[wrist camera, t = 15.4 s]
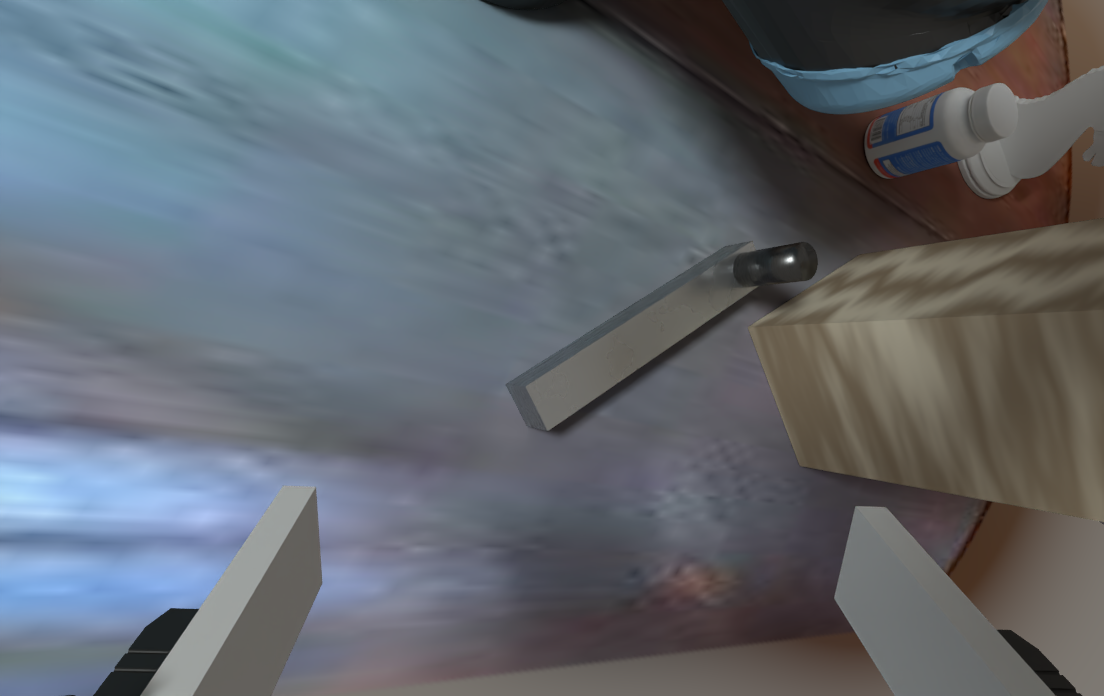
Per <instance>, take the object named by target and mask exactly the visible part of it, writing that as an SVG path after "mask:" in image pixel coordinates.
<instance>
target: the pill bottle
mask: <svg viewBox="0 0 1104 696" xmlns="http://www.w3.org/2000/svg"><path fill="white" fill-rule="evenodd" d="M1017 122H1018V108H1017V103H1016V100H1015V97H1014V95H1013V93H1012V91H1011V90H1010V89H1009V88H1008V87H1007V86H1006V85H1005V84H1002V83H995V84H992V85H989V86H986V87H983V88H980V89H978V90H977V91H975V92H974V91H973V90H971V89H968V88H955V89H952V90H949V91H946V92H943V93H941V94H938V95H935V96H933V97H930V98H927V99H924V100H922V101H919V102H917V103H914V104H911V105H909V106H906V107H903V108H900V109H898V110H895V111H892V112H889V113H887V114H884V115H881V116H879V117H877V118H875V119H874V120H873V121H872V122H871V123H870V124H869V126H868V128H867V130H866V134H865V140H864V147H865V154H866V158H867V161H868V163H869V165H870V167H871V168H872V170H873V171H874V172H875V173H876V174H877V175H879V176H880V177H882V178H886V179H893V178H898V177H902V176H905V175H909V174H913V173H916V172H920V171H924V170H927V169H931V168H935V167H939V166H942V165H946V164H950V163H953V162H957V161H961V160H964V159H967V158H970V157H973V156H975V155H976V154H978V153H979V152H980V151H981V150H982V149H983V147H984V146H985V144H986V143H990V142H994V141H997V140H1000V139H1003V138H1006V137H1009V136H1010V135H1012V134H1013V132H1014V131H1015V129H1016V126H1017Z"/></svg>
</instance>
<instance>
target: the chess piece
mask: <svg viewBox="0 0 1104 696" xmlns="http://www.w3.org/2000/svg"><path fill="white" fill-rule="evenodd" d="M1014 97H1015V100H1016V103H1017V108H1018V122H1017V126H1016V129H1015V131H1014V132H1013V134H1012V135H1010V136H1009V137H1006V138H1003V139H1000V140H997V141H994V142H990V143H986V144H985V146H984V147H983V149H982V150H981V151H980V152H979V153H978V154H976V155H975V156H973V157H970V158H967V159H964V160H961V161H957V163H958V166H959V169H960V172H961V174H962V176H963V178H964V180H965V182H966V183H967V185H968V186H969V188H970V189H971V190H972V191H973V192H974V193H975V194H977V195H978V196H980V197H982V198H986V199H993V198H998V197H1000V196H1002V195H1005V194H1007V193H1009V192H1010V191H1011V190H1012V189H1013V188H1014V187H1015V186H1016V184H1017V183H1018V182H1019V181H1020V180H1021V178H1022V179H1027V178H1034V177H1037V176H1040V175H1042V174H1044V173H1045V172H1046V171H1048V170H1049V169H1050V168H1051V167H1052V166H1053V165H1054V164H1055V163H1056V162H1057V161H1058V160H1059V159H1060V158H1061V157H1062V156H1063V155H1064V154H1065V153H1066V152H1067V151H1068V150H1069V148H1070V147H1071V146H1072V145H1073V144H1074V142H1075V141H1076V140H1077V139H1078V138H1079V137H1080V136H1081V135H1082V134H1083V133H1084V132H1085V130H1086V129H1087V128H1088V127H1093V128H1094V137H1093V139H1094V143H1093V145H1092V146H1091V147H1090V148H1088V149H1087V150H1086V151H1085V152H1084V153H1083V159H1084V161H1090V160H1091V159H1092V158H1093V157H1094V159H1093V161H1092V163H1091V164H1092V165H1093V166H1104V66H1101V67H1100V68H1098V69H1092V70H1090V71H1089V72H1088V73H1087V74H1084V75H1082V76H1080V77H1079V78H1078V79H1075V80H1074V81H1072V82H1070V83H1068V84H1067V85H1066V86H1065V87H1063V88H1062V89H1060V90H1058V91H1056V92H1053V93H1052V94H1050V95H1049V96H1043V97H1042V98H1035V99H1033V100H1032V99H1028V100H1027V99H1024V98H1023V99H1019V98H1018V96H1014ZM1094 155H1095V156H1094Z"/></svg>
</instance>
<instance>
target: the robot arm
mask: <svg viewBox="0 0 1104 696" xmlns="http://www.w3.org/2000/svg"><path fill="white" fill-rule="evenodd" d="M486 1H488V2H491V3H494V4H497V5H500V6H504V7H508V8H514V9H523V10H533V9H542V8H548V7H551V6H555V5H557V4H560V3H562V2H564V1H566V0H486ZM722 1H723V3H724V4H725V6H726V7H727V9H728V10H729V12H730V13H731V15H732V16H733V18H734V19H735V21H736V22H737V24H738V25H739V27H740V28H741V30H742V31H743V33H744V34H745V36H746V37H747V39H748V40H749V44H750V47H751V49H752V51H753V53H754V55H755V57H756V58H757V59H760V61H761V63H762V64H763V65H764V66H766V67H767V68H769V69H770V70H772V72H773V73H774V74H775V76H776V77H777V78H778V80H779V81H780V82H781V84H782V85H783V86H784V88H785V89H786V90H787V92H788V93H789V94H790V95H791V96H792V97H793V98H794V99H795V100H796V101H797V102H799V103H800V104H801V105H803V106H804V107H807V108H809V109H811V110H814V111H818V112H822V113H828V114H854V113H862V112H868V111H873V110H877V109H881V108H885V107H889V106H893V105H896V104H899V103H902V102H905V101H908V100H911V99H914V98H916V97H919V96H921V95H924V94H926V93H928V92H931V91H933V90H935V89H937V88H939V87H941V86H943V85H946V84H947V83H949V82H951V81H953V80H954V77H955V74H956V73H957V72H958V71H960V70H961V69H963V68H967V67H970V66H978V65H982V64H983V63H985V62H986V61H988V60H989V59H991V58H992V57H994V56H995V55H997V54H998V53H999V52H1001V51H1002V50H1004V49H1005V48H1006V47H1008V46H1009V45H1010V44H1011V43H1013V42H1014V41H1015V40H1016V39H1017V38H1018V37H1019V36H1020V35H1022V34H1023V33H1024V32H1025V31H1026V30H1027V29H1028V28H1029V27H1030V26H1031V25H1032V24H1033V23H1034V21H1035V20H1036V19H1037V17H1038V16H1039V14H1040V13H1041V11H1042V10H1043V8H1044V6H1045V5H1046V3H1047V2H1048V0H722ZM321 585H322V572H321V556H320V541H319V526H318V511H317V496H316V487H304V486H283V487H282V488H281V490H280V491H279V493H278V494H277V496H276V497H275V499H274V500H273V502H272V503H271V505H270V506H269V507H268V509H267V510H266V512H265V513H264V515H263V516H262V518H261V519H260V521H259V522H258V524H257V525H256V527H255V528H254V529H253V531H252V532H251V534H250V535H249V537H248V538H247V540H246V541H245V543H244V544H243V546H242V547H241V549H240V550H239V552H238V553H237V554H236V556H235V557H234V559H233V560H232V562H231V563H230V565H229V566H228V568H227V569H226V571H225V572H224V574H223V575H222V576H221V578H220V579H219V581H218V582H217V584H216V585H215V587H214V588H213V590H212V591H211V593H210V594H209V596H208V597H207V599H206V600H205V601H204V603H203V604H202V606H201V607H200V609H176V608H171V609H169V610H168V611H167V612H165V613H164V614H163V615H161V616H160V617H158V618H157V619H156V620H154V621H153V622H152V623H150V624H149V625H148V626H146V627H145V628H144V630H143V631H142V632H141V634H140V635H139V636H138V638H137V639H136V640H135V641H134V643H133V644H132V645H131V647H130V648H129V651H128V654H125V655H124V656H123V657H122V659H121V660H120V661H119V662H118V664H117V665H116V666H115V670H114V672H111V673H110V674H109V676H108V677H107V678H106V680H105V681H104V682H103V683H102V685H101V686H100V687H99V689H98V690H97V691H96V693H95V694H94V695H93V696H271V695H272V693H273V690H274V688H275V686H276V684H277V682H278V679H279V677H280V675H281V673H282V671H283V668H284V666H285V664H286V662H287V660H288V657H289V655H290V653H291V651H292V649H293V646H294V644H295V642H296V640H297V638H298V635H299V633H300V631H301V629H302V627H303V624H304V622H305V620H306V618H307V616H308V613H309V611H310V609H311V607H312V605H313V602H314V600H315V598H316V596H317V594H318V591H319V589H320V587H321ZM834 599H835V601H836V602H837V604H838V605H839V607H840V609H841V610H842V612H843V613H844V615H845V617H846V618H847V620H848V621H849V623H850V625H851V626H852V628H853V629H854V631H855V633H856V634H857V636H858V638H859V639H860V641H861V642H862V644H863V645H864V647H865V649H866V650H867V652H868V654H869V655H870V657H871V658H872V660H873V661H874V663H875V665H876V666H877V668H878V670H879V671H880V673H881V674H882V676H883V678H884V679H885V681H886V683H887V684H888V686H889V687H890V689H891V691H892V692H893V694H894V695H895V696H1082V695H1081V694H1080V693H1076V689H1075V688H1074V686H1073V685H1072V684H1071V683H1070V682H1069V681H1068V680H1067V679H1066V678H1065V677H1064V676H1063V675H1060V674H1059V671H1058V670H1057V669H1056V667H1055V666H1054V665H1053V664H1052V663H1051V662H1050V661H1049V660H1048V659H1047V658H1046V657H1045V656H1044V655H1043V654H1042V653H1041V652H1040V651H1039V649H1037V648H1036V647H1034V646H1033V645H1031V644H1030V643H1029V642H1027V641H1026V640H1024V639H1023V638H1021V637H1020V636H1018V635H1017V634H1016V633H1014V632H1013V631H1011V630H996V629H995V628H994V627H993V626H992V624H990V622H989V621H988V620H987V619H986V618H985V617H984V616H983V615H982V613H981V612H980V611H979V610H978V609H977V608H976V607H975V606H974V604H973V603H972V602H971V601H970V600H969V599H968V598H967V597H966V596H965V595H964V593H963V592H962V591H961V590H960V589H959V588H958V587H957V586H956V585H955V583H954V582H953V581H952V580H951V579H950V578H949V577H948V576H947V574H946V573H945V572H944V571H943V570H942V569H941V568H940V567H939V566H938V564H937V563H936V562H935V561H934V560H933V559H932V558H931V557H930V556H929V554H928V553H927V552H926V551H925V550H924V549H923V548H922V547H921V546H920V544H919V543H918V542H917V541H916V540H915V539H914V538H913V537H912V536H911V534H910V533H909V532H908V531H907V530H906V529H905V528H904V527H903V526H902V524H901V523H900V522H899V521H898V520H897V519H896V518H895V517H894V516H893V514H892V513H891V512H890V511H889V510H888V509H887V508H886V507H868V506H855V510H854V515H853V519H852V523H851V528H850V532H849V536H848V541H847V545H846V549H845V554H844V558H843V562H842V566H841V571H840V575H839V579H838V584H837V588H836V592H835V597H834ZM67 696H74V695H67Z"/></svg>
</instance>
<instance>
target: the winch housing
mask: <svg viewBox="0 0 1104 696" xmlns="http://www.w3.org/2000/svg"><path fill="white" fill-rule="evenodd" d="M748 329H749V332H750V335H751V337H752V340H753V343H754V345H755V348H756V351H757V353H758V356H759V359H760V361H761V364H762V367H763V369H764V372H765V375H766V377H767V380H768V383H769V385H770V388H771V391H772V393H773V396H774V399H775V401H776V404H777V407H778V409H779V412H780V415H781V417H782V420H783V423H784V425H785V428H786V431H787V433H788V436H789V439H790V441H791V444H792V447H793V449H794V452H795V455H796V457H797V460H798V463H799V465H800V466H803V467H808V468H814V469H819V470H825V471H830V472H835V473H841V474H846V475H852V476H857V477H863V478H868V479H873V480H879V481H884V482H890V483H895V484H900V485H906V486H911V487H917V488H922V489H928V490H933V491H938V492H944V493H949V494H955V495H960V496H966V497H971V498H976V499H982V500H987V501H993V502H999V503H1003V504H1009V505H1014V506H1020V507H1025V508H1031V509H1036V510H1041V511H1047V512H1052V513H1058V514H1063V515H1069V516H1074V517H1079V518H1085V519H1090V520H1096V521H1099V522H1101V523H1102V524H1104V218H1100V219H1094V220H1087V221H1080V222H1073V223H1067V224H1060V225H1053V226H1047V227H1040V228H1033V229H1027V230H1020V231H1013V232H1007V233H1000V234H993V235H987V236H980V237H973V238H967V239H960V240H953V241H947V242H940V243H933V244H927V245H920V246H913V247H907V248H900V249H893V250H887V251H880V252H874V253H867V254H860V255H858V256H857V257H855V258H854V259H852V260H851V261H849V262H848V263H846V264H844V265H843V266H841V267H840V268H838V269H837V270H835V271H834V272H832V273H831V274H829V275H828V276H826V277H824V278H823V279H821V280H820V281H818V282H817V283H815V284H814V285H812V286H811V287H809V288H808V289H806V290H804V291H803V292H801V293H800V294H798V295H797V296H795V297H794V298H792V299H791V300H789V301H787V302H786V303H784V304H783V305H781V306H780V307H778V308H777V309H775V310H774V311H772V312H771V313H769V314H767V315H766V316H764V317H763V318H761V319H760V320H758V321H757V322H755V323H754V324H752V325H751V326H749V327H748Z"/></svg>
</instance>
